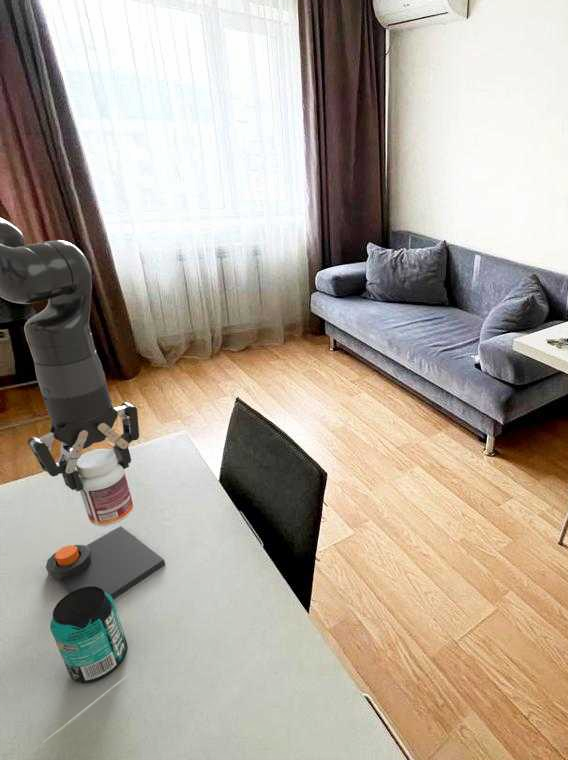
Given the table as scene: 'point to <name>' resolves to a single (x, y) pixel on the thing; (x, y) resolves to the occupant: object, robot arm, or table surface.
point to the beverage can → (88, 634)
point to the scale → (108, 564)
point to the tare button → (67, 555)
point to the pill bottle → (104, 487)
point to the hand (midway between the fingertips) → (101, 476)
